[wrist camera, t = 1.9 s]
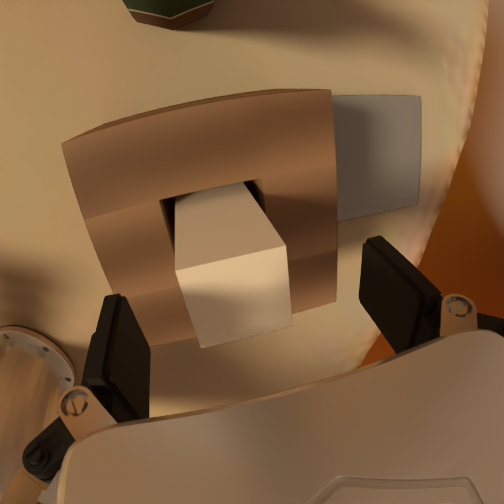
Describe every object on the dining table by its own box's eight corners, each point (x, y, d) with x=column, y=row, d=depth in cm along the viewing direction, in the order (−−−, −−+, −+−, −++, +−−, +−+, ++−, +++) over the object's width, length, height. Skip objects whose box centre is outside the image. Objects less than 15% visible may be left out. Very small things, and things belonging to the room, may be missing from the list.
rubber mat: (414, 203, 31) (417, 204, 31) (319, 223, 30) (321, 225, 29) (417, 96, 25) (420, 96, 25) (311, 97, 24) (313, 97, 23)
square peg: (240, 218, 23) (292, 326, 13) (187, 229, 23) (201, 348, 13) (232, 166, 21) (286, 245, 11) (175, 179, 21) (174, 270, 11)
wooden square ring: (291, 238, 30) (336, 301, 21) (147, 271, 28) (140, 348, 20) (275, 88, 23) (330, 89, 14) (104, 123, 21) (61, 143, 13)
